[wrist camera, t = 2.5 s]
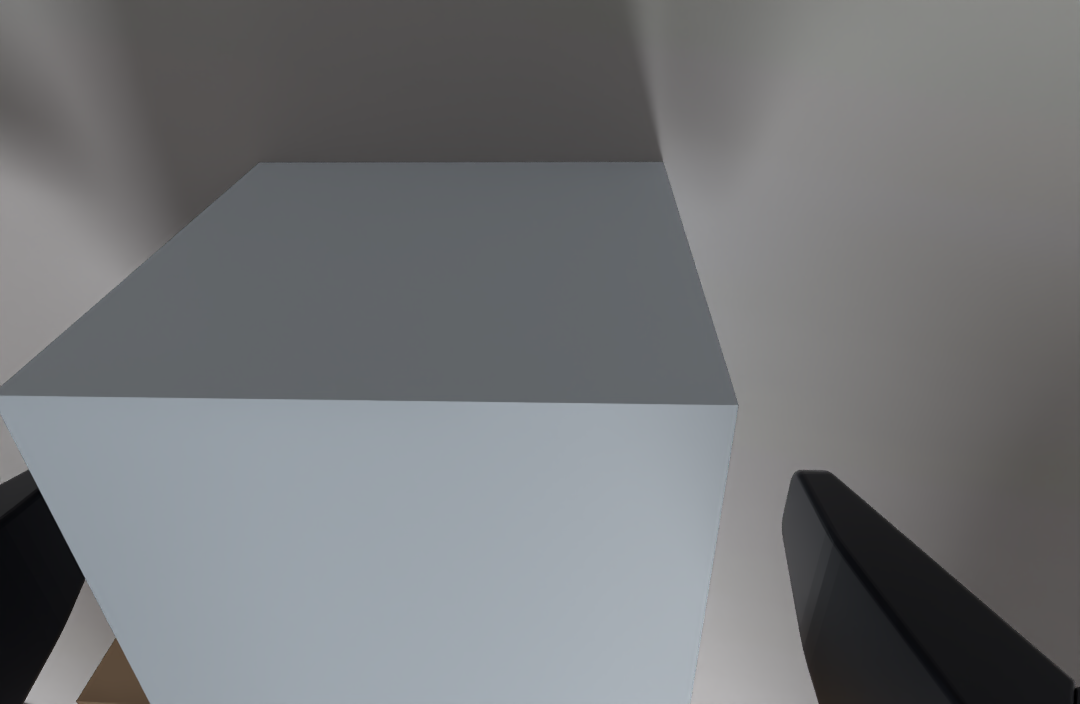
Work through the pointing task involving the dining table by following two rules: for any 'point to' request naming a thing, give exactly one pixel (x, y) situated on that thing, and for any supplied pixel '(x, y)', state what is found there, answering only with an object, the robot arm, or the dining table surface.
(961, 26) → the dining table surface
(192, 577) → the grey cube
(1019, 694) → the robot arm
